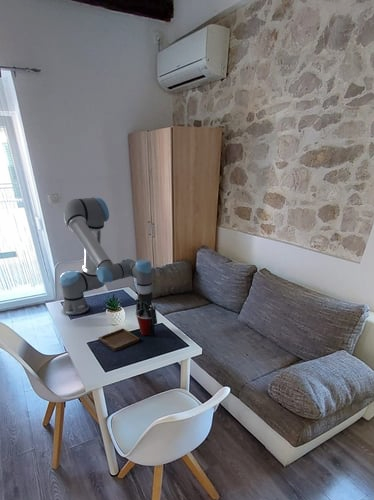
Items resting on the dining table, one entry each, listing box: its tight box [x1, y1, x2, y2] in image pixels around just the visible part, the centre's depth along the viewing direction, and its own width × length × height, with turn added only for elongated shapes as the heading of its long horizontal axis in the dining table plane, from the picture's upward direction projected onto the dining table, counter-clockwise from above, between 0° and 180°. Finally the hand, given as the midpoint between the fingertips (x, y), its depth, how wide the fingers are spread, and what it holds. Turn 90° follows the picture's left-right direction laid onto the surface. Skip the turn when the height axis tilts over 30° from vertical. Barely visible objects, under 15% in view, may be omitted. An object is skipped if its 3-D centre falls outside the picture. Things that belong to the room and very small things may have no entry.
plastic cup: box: [134, 310, 151, 336], centre depth 167 cm, size 11×11×12 cm
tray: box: [98, 328, 140, 352], centre depth 163 cm, size 15×15×2 cm
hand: (147, 331), depth 170 cm, fingers closed on plastic cup, 8 cm apart
